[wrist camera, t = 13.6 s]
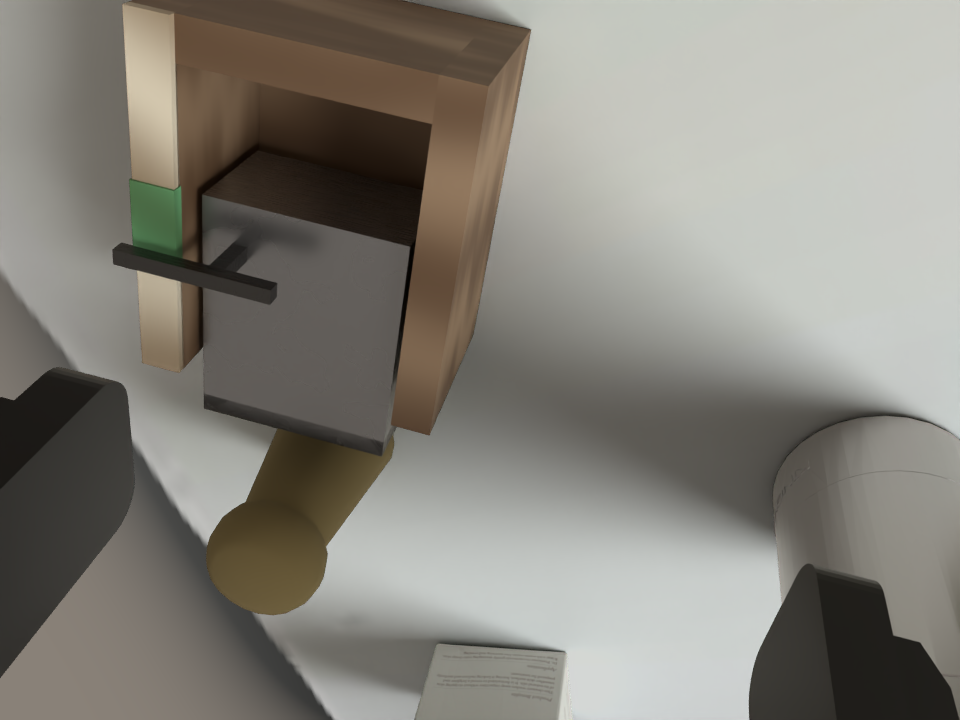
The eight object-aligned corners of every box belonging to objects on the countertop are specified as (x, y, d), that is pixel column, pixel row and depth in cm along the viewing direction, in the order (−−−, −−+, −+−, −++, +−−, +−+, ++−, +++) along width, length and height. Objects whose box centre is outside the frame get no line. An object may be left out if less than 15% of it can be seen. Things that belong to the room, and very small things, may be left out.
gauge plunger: (414, 391, 42) (362, 494, 36) (209, 337, 43) (125, 428, 37) (443, 195, 37) (389, 277, 31) (208, 137, 38) (109, 206, 31)
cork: (306, 482, 50) (215, 636, 41) (268, 390, 47) (161, 534, 38) (407, 475, 48) (336, 636, 39) (375, 380, 45) (289, 529, 36)
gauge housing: (473, 334, 42) (426, 441, 35) (231, 272, 43) (139, 363, 36) (531, 29, 35) (485, 89, 28) (234, -38, 36) (119, 4, 29)
